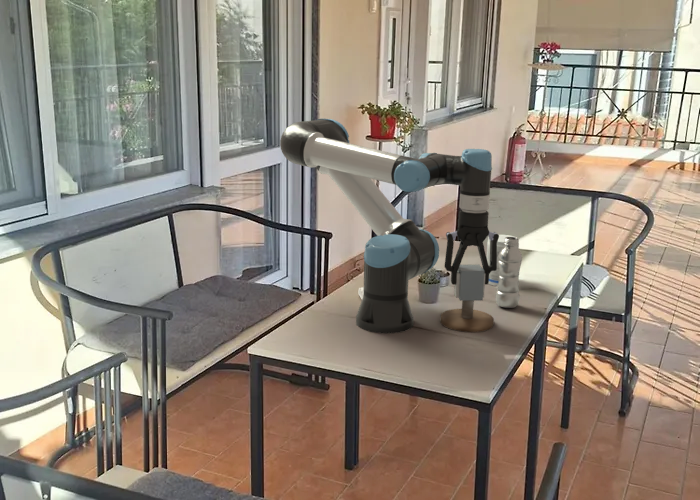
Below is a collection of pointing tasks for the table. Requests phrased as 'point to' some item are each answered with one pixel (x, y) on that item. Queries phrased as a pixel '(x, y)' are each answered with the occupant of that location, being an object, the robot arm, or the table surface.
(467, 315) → the peg stand
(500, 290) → the plastic bottle
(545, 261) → the table surface
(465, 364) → the table surface
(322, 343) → the table surface
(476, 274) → the light grey rectangular block
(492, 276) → the supplement tub
